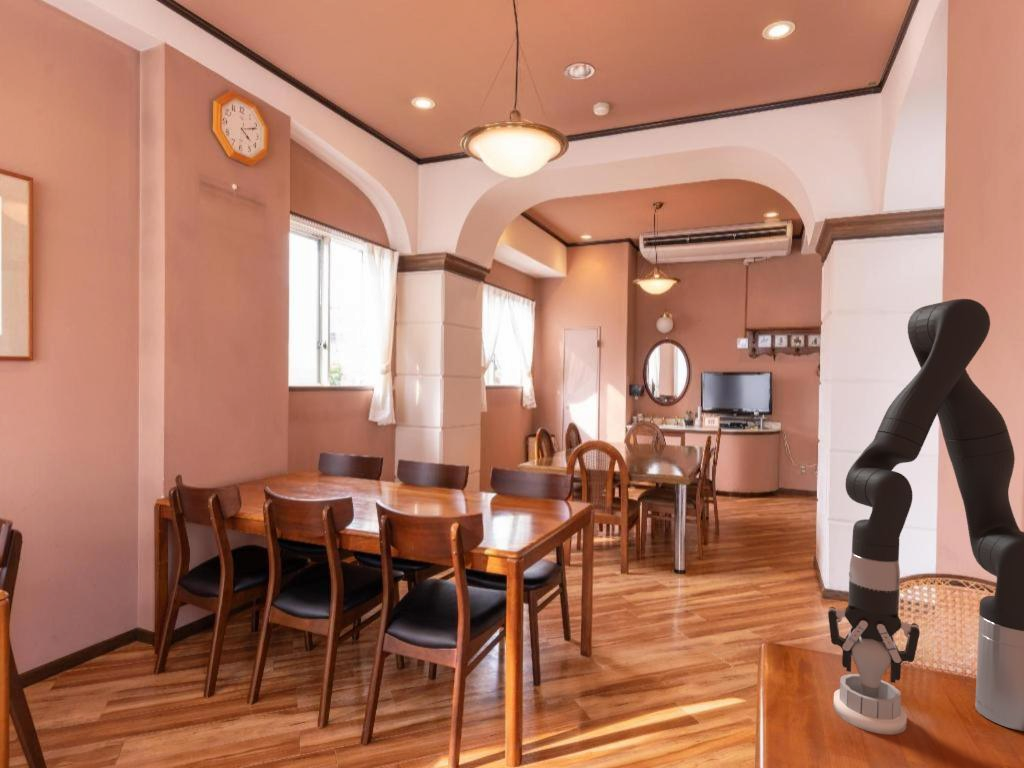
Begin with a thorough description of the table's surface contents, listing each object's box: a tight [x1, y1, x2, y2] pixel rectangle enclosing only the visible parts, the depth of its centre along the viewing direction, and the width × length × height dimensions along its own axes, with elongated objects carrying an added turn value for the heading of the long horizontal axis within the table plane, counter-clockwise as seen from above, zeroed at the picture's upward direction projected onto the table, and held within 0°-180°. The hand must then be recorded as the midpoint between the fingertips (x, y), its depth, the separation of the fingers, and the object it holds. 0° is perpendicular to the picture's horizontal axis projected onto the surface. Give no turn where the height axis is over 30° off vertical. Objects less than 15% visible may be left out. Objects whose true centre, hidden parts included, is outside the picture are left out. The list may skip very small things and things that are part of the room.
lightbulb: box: [851, 636, 892, 698], centre depth 104 cm, size 6×6×11 cm
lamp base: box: [832, 673, 908, 736], centre depth 104 cm, size 11×11×5 cm
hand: (870, 674), depth 104 cm, fingers closed on lightbulb, 6 cm apart
